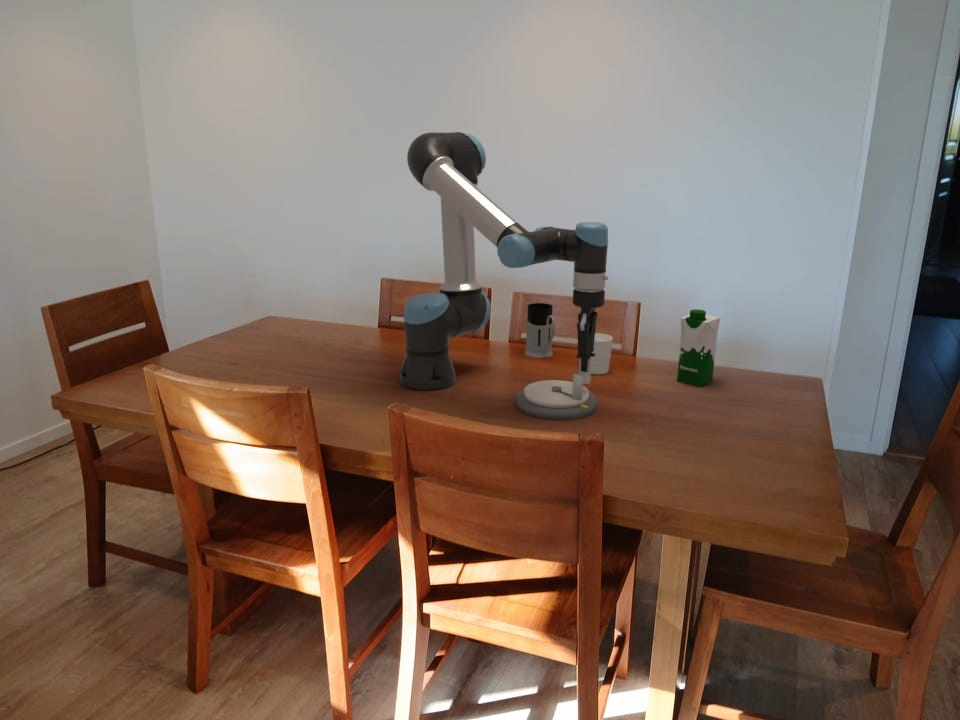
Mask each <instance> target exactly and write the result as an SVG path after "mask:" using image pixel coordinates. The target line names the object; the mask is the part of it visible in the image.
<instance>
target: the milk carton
mask: <svg viewBox="0 0 960 720" xmlns="http://www.w3.org/2000/svg"><path fill="white" fill-rule="evenodd" d="M720 321H721V317H719V316H715V315H714V316H713V315H707V311H706V310H703V309H690V310H689V314H687V315H684V316H682V317H680V326H681V327H680V331H681V332H680V342H679V353H678V364H677V374H676V375H677V376H676V378H677V379H676V381H677V382H678V383H679V382H680V383H684V384H688V385H692V386H696V387H699V388H701V387H703V386H705V385H707V384H708V383H710V382H712V381H713V377H714V369H715V368H714V367H715V366H714V365H715V357H716V348H717V340H718V339H717V338H718V333H719V327H720Z"/></svg>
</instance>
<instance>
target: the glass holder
mask: <svg viewBox="0 0 960 720" xmlns="http://www.w3.org/2000/svg"><path fill="white" fill-rule="evenodd" d="M553 307H554V306H553V304H550V303H543V302H537V303H536V302H534V303H529V304H527V317H526V337H525V345H526V346H525V351H524V355H525V356H527V357H529V356H530V358H538V359H543V358H544V357H545V358H550V357H552V356H553V355H554V353H553V339H554V336H555V332H556V331H555V330H556V321H555V318H554V316H553Z"/></svg>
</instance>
